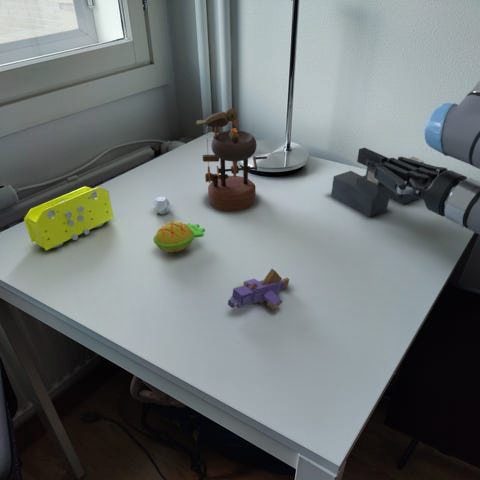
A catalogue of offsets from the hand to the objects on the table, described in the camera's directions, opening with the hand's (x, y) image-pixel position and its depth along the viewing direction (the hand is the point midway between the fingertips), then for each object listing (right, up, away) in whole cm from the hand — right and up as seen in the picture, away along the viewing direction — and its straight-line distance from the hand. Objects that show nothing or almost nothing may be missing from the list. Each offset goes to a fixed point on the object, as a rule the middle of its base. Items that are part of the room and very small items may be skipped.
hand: (360, 154), depth 96 cm
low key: (+12, -2, +3) cm, 12 cm away
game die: (-42, -11, +4) cm, 44 cm away
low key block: (+10, -5, +10) cm, 15 cm away
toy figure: (-22, -31, -19) cm, 43 cm away
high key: (+3, -6, -1) cm, 7 cm away
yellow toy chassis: (-58, -17, -3) cm, 61 cm away
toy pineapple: (-37, -21, -7) cm, 43 cm away
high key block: (+1, -9, +6) cm, 10 cm away
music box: (-26, -8, +8) cm, 28 cm away
